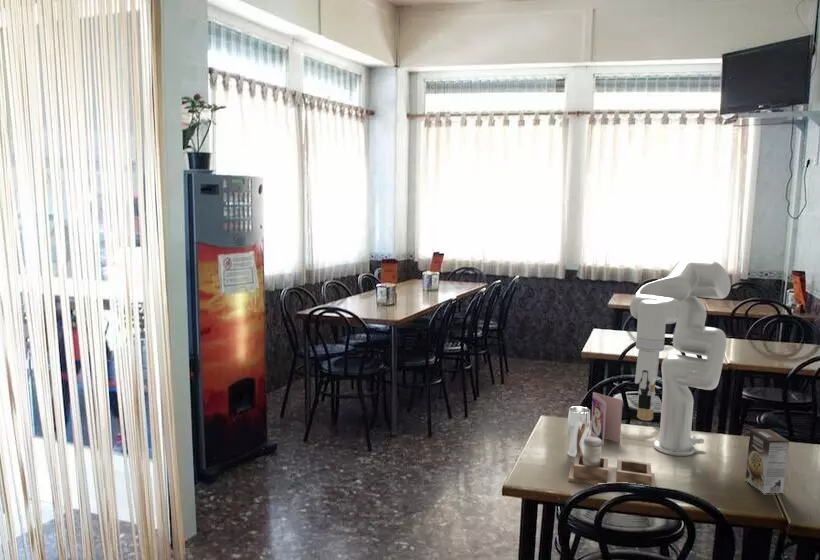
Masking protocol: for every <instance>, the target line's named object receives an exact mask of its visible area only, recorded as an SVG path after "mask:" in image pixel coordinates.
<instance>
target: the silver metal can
mask: <svg viewBox="0 0 820 560" xmlns="http://www.w3.org/2000/svg"><path fill="white" fill-rule="evenodd" d="M567 416H568V417H567V431H568V440H569V441H568V442H569V445H568V449H567V455H568V456H569V457H571V458H574V457H575V458H576V453H577V454H583V448H584V438H585V437H589V434H590V431H591V409H589V408H588V407H584V406H580V405H579V406H570V407H569V409H568V415H567ZM575 458H574V459H575Z"/></svg>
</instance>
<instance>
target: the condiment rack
mask: <svg viewBox="0 0 820 560" xmlns="http://www.w3.org/2000/svg"><path fill="white" fill-rule="evenodd" d="M601 442H602V441H601V439H599V438H596V437H594V436H588V437H585V438H584V448H583V454H577V453H576V458H574V462H573V461H571V464H570V469H569V473H568V479H567V480H568V482H571V483H578V484H579V483H580V484H584V485H585V484H586V485H593V486H595V485H594V484H598V483H607V482H628V483H636V484H643V485H649V486H656V479H655V473H652V465H651V464H652V463H650V462H643V461H635V460H627V459H619V458H617V459H616V461H617V462H616V467H610V466H609V457H606V456H601V455H602V444H601Z"/></svg>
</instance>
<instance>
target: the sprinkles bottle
mask: <svg viewBox="0 0 820 560" xmlns="http://www.w3.org/2000/svg"><path fill="white" fill-rule="evenodd" d="M649 382H650V381H649ZM656 382H657V379H656V378H655V382H654V384H653V385H652V386H651V390H650V396H651V404H650V409H649V410H648V409H642V408H638V407H637V415H636V418H638V419H639V420H641V421H652V420H654V408H655V397H656V396H655V395H656ZM640 383H641V381H640V382H639V383H638V384H639V385H638V386H639V387H638V393H639V392H640ZM647 384H648V385H649V383H648V382H647ZM646 388H648V387H646ZM638 401H639V395H638V397H637V402H638Z"/></svg>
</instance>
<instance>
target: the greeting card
mask: <svg viewBox="0 0 820 560" xmlns="http://www.w3.org/2000/svg"><path fill="white" fill-rule="evenodd" d="M591 399H592V400H591V401H592V403H591V405H592V406H591V417H590V435H592V437H596V438H599V439H601V441H602V442H601V446H603V447H604V445H605V443H604V442H605V438H607V439H606V440H608V439H609V441H611V440H612V442H614V441H615V443H617V442H618V444H621V434H622V433H621V432H622V431H621V429H622V416H623V402H624V400H623V399H620V398H616V397H612V396H608V395H605V394H601V393H599V392H595V391H593V392H592V397H591Z"/></svg>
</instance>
